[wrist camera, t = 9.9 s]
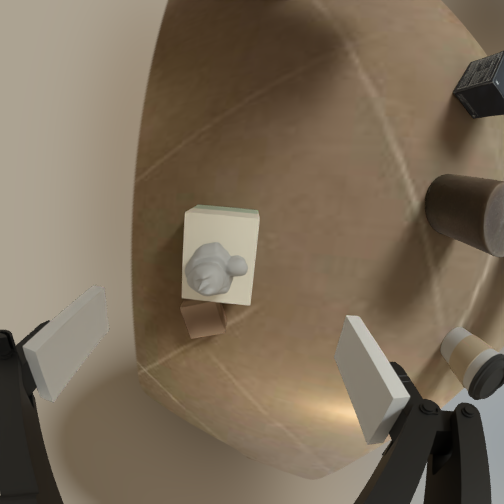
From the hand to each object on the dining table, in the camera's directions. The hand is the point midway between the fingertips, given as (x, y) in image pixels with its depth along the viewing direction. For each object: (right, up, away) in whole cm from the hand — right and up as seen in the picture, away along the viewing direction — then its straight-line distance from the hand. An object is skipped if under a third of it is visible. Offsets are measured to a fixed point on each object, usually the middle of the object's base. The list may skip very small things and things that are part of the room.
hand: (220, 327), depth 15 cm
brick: (-5, -4, +28) cm, 29 cm away
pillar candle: (+33, +11, +24) cm, 42 cm away
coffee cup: (+41, -14, +30) cm, 53 cm away
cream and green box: (-2, +5, +25) cm, 26 cm away
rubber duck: (-2, +3, +18) cm, 18 cm away
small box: (+40, +32, +18) cm, 54 cm away
